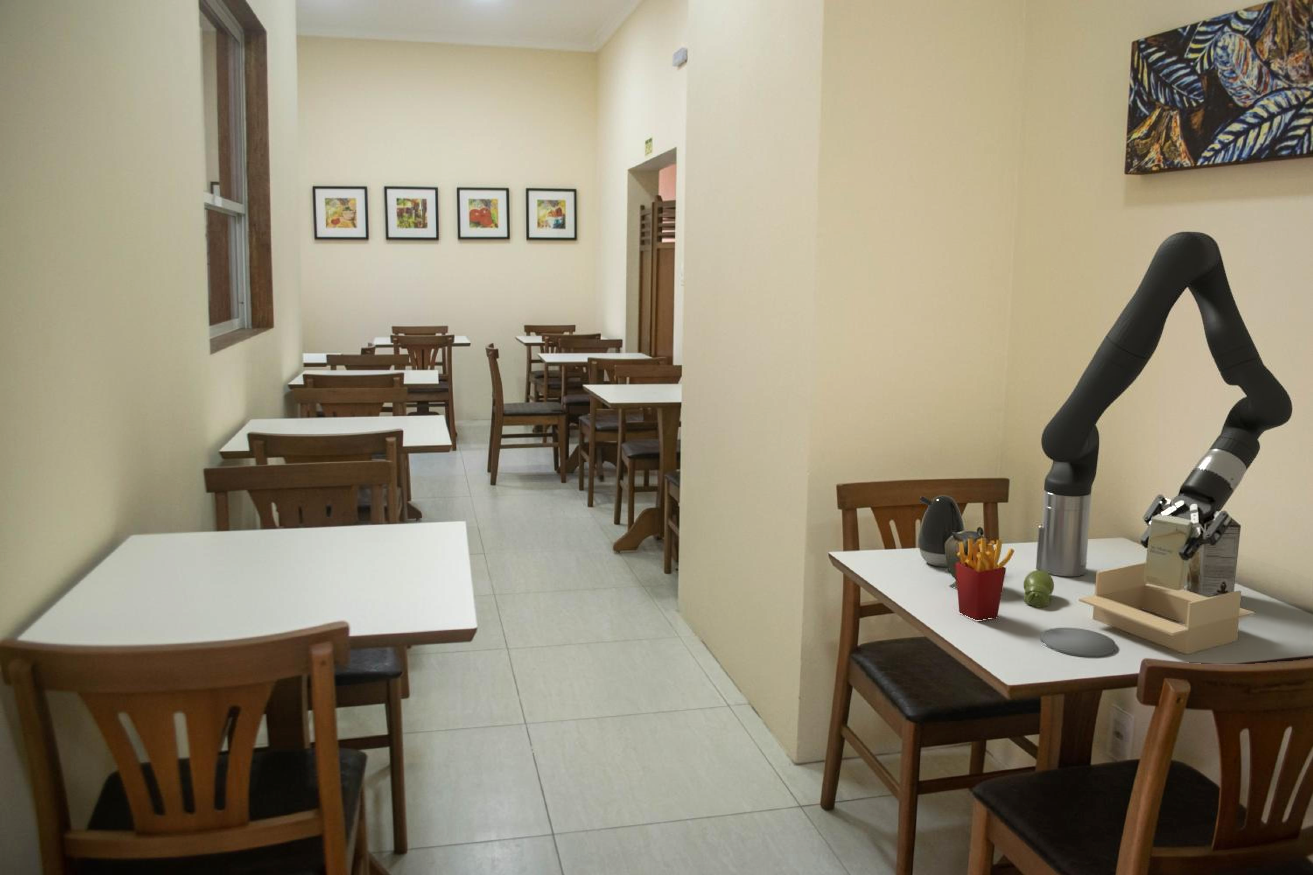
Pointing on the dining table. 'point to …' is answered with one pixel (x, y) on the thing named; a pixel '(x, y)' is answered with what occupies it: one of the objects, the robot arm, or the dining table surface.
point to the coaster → (1078, 642)
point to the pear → (1038, 588)
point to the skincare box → (1167, 552)
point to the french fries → (980, 579)
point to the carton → (1164, 611)
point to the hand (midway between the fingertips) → (1163, 551)
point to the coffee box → (1215, 564)
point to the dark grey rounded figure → (938, 528)
